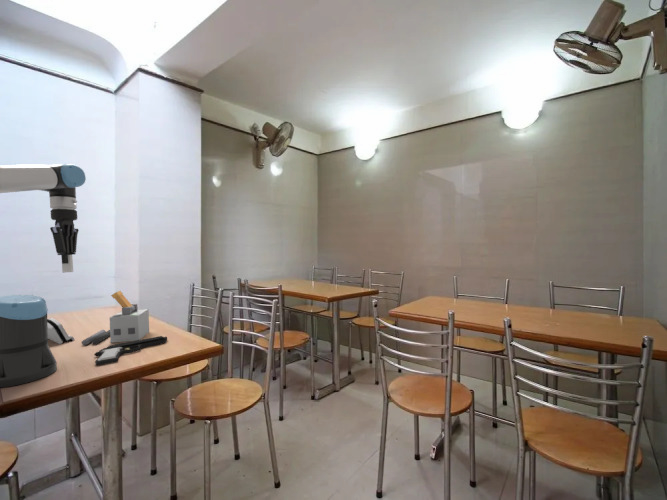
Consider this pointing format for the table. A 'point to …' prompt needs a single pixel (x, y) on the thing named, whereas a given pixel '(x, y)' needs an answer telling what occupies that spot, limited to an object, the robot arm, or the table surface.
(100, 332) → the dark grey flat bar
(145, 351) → the table surface
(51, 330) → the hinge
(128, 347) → the handgun
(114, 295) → the lever
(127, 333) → the breaker box
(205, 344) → the table surface
